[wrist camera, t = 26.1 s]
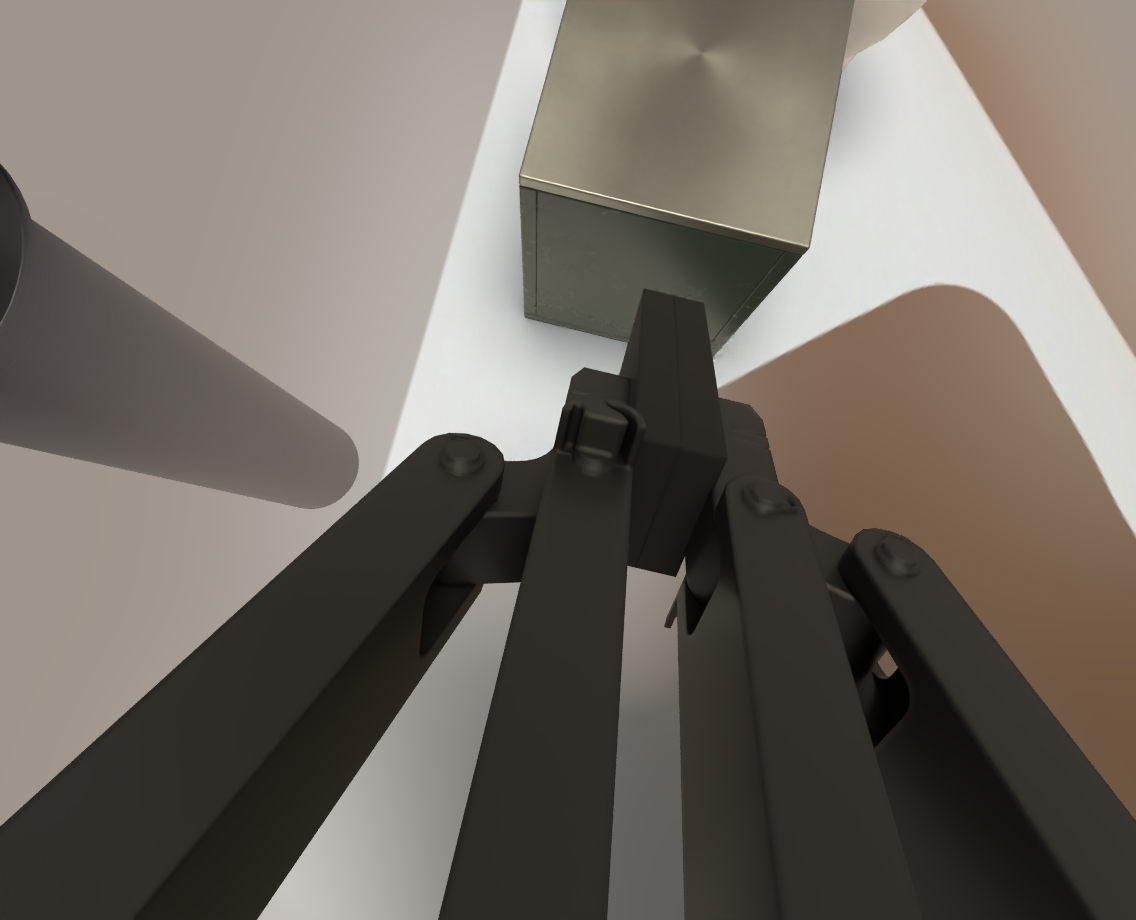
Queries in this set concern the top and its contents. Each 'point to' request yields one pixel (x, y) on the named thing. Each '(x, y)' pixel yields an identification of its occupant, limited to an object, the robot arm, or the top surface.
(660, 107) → the bin lid
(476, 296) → the top surface
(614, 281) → the bin
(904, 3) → the cup
